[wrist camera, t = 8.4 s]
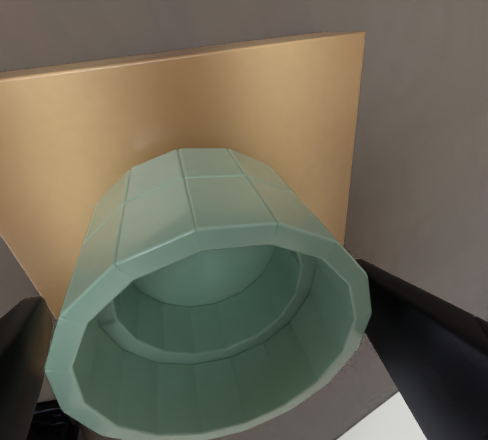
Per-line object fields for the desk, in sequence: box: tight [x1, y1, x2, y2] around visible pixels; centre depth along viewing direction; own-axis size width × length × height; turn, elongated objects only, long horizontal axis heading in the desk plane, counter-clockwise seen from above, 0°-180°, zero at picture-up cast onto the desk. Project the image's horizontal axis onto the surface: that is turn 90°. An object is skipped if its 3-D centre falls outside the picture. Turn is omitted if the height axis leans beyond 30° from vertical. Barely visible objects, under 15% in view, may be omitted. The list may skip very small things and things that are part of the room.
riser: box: [0, 31, 366, 320], centre depth 12 cm, size 12×12×3 cm
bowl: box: [44, 148, 372, 440], centre depth 9 cm, size 7×7×5 cm
